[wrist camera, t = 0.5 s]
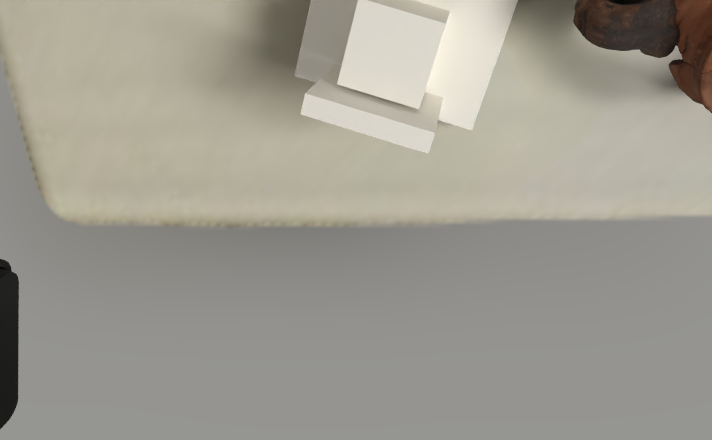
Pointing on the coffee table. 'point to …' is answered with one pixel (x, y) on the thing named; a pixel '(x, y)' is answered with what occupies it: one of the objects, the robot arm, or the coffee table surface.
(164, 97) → the coffee table surface
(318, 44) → the stand
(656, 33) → the brown curved ringed piece
